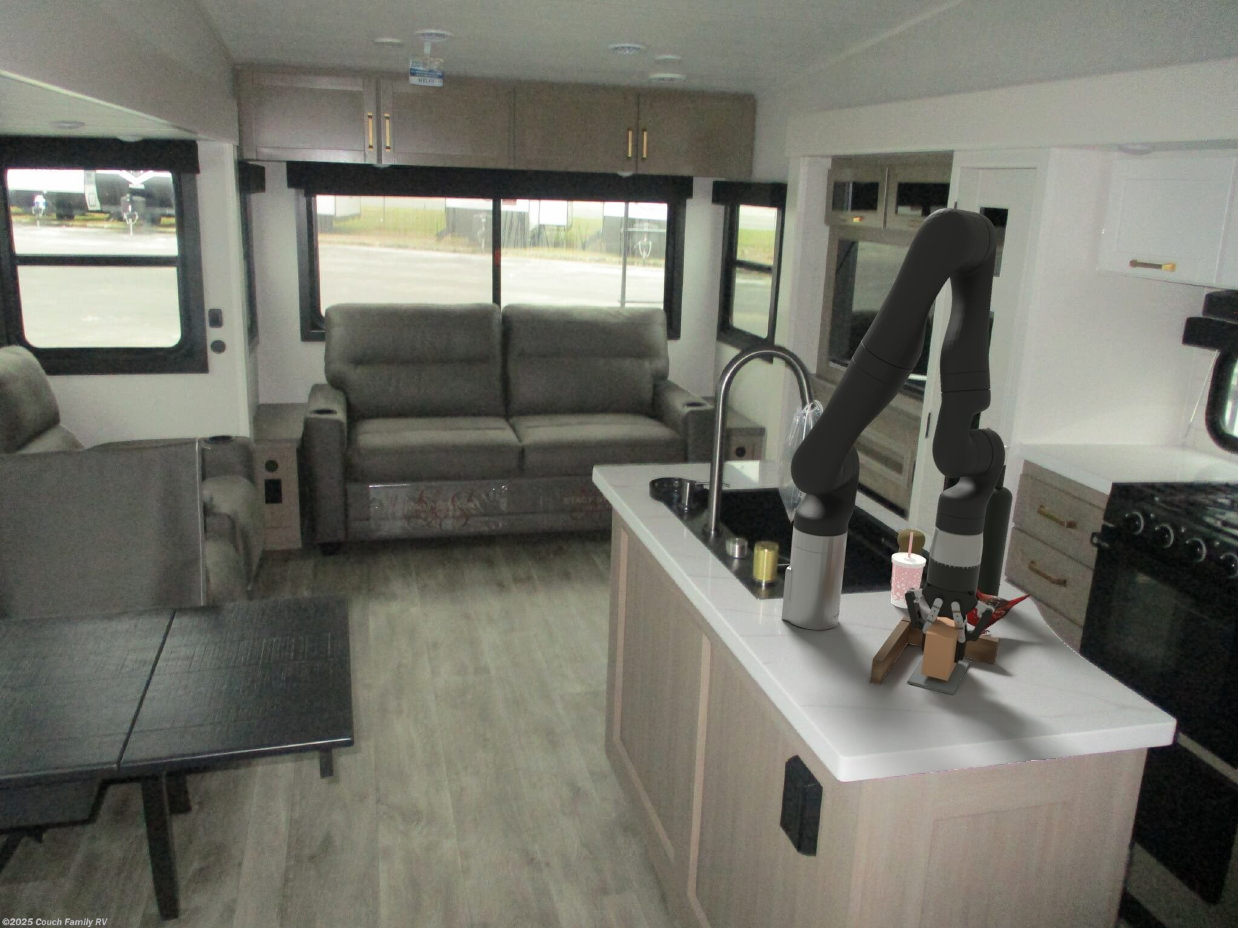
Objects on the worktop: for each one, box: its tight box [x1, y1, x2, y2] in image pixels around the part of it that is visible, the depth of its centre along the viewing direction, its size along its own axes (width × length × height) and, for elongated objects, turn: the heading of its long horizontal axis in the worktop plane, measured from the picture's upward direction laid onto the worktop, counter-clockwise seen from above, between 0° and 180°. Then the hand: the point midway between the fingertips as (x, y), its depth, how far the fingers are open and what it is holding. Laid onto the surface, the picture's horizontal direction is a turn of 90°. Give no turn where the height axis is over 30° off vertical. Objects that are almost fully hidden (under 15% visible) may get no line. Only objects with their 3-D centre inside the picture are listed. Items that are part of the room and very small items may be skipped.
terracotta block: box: [921, 617, 958, 681], centre depth 155 cm, size 10×4×7 cm, turn 150°
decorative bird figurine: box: [967, 589, 1031, 635], centre depth 170 cm, size 3×18×10 cm, turn 114°
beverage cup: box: [890, 532, 927, 609], centre depth 181 cm, size 6×6×14 cm
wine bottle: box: [977, 444, 1013, 597], centre depth 183 cm, size 6×6×30 cm
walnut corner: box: [869, 616, 1000, 685], centre depth 156 cm, size 16×19×4 cm
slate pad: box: [907, 656, 971, 696], centre depth 157 cm, size 7×13×1 cm, turn 150°
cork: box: [889, 528, 926, 589], centre depth 191 cm, size 6×6×11 cm
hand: (942, 656), depth 156 cm, fingers closed on terracotta block, 3 cm apart
